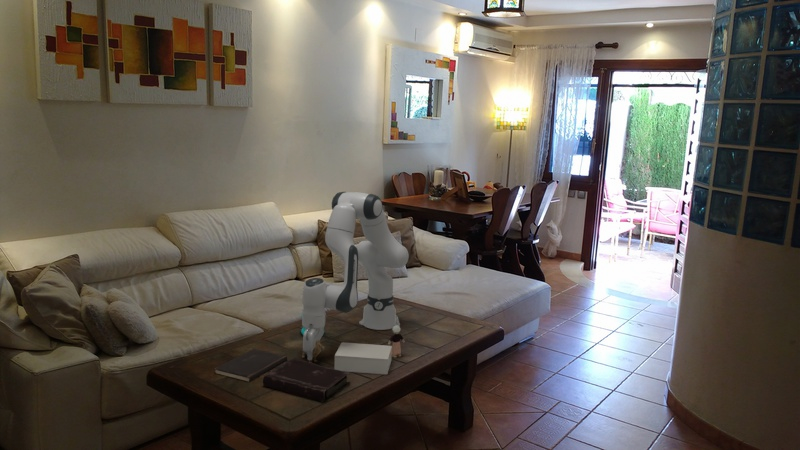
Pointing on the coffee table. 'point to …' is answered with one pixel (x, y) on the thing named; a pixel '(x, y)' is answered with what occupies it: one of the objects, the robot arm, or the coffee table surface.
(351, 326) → the coffee table surface
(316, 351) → the lion figurine
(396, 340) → the grandmother figurine
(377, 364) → the pedestal
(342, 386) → the diary
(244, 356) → the hardcover book
